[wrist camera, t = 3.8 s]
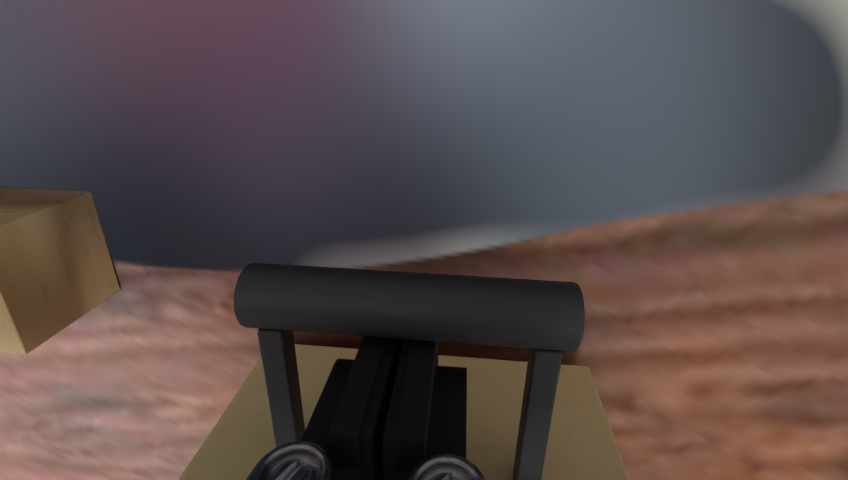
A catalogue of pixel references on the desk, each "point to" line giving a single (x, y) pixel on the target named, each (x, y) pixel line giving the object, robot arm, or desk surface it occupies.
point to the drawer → (444, 322)
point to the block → (49, 264)
